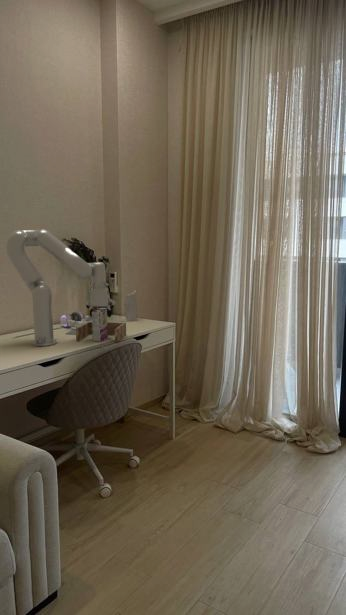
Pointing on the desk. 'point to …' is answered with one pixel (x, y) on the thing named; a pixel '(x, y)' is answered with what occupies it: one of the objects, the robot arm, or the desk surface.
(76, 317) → the headphones
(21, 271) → the robot arm
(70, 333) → the felt mat
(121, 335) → the brown bent panel
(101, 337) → the candy bar box
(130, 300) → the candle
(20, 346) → the desk surface
